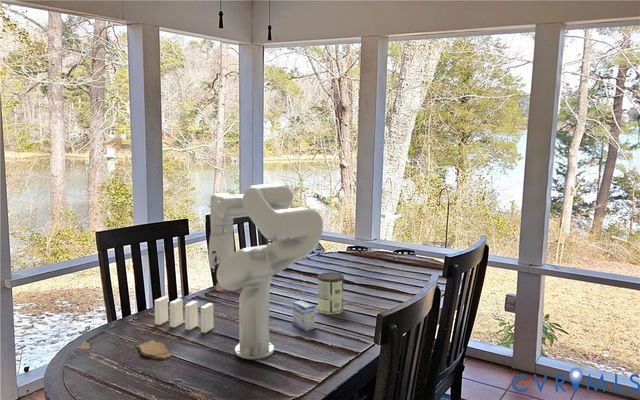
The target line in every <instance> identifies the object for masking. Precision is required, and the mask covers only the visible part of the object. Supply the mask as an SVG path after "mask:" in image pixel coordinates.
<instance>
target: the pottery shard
mask: <svg viewBox="0 0 640 400" xmlns="http://www.w3.org/2000/svg"><path fill="white" fill-rule="evenodd" d="M135 348H136V349H137V350H138V351H140V354H142V355H143V356H145V357H148V358H151V359H155V360H160V361H161V360H167V359H169V358H170V357H171V356H172V354H171V353H170V352H169V350H168V348H167V346H166V345H165V344H164V343H162V342H156V341H155V340H148V341H146V342H144V343H142V344H141V343H140V344H138V345H135Z"/></svg>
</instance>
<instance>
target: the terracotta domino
mask: <svg viewBox="0 0 640 400" xmlns="http://www.w3.org/2000/svg"><path fill="white" fill-rule="evenodd" d="M216 266H219V265H216ZM215 284H216V286H215V288H216V291H224V290H225V289H224V288H222V287H221V286H220V284H219V283H215Z"/></svg>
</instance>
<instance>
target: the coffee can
mask: <svg viewBox="0 0 640 400" xmlns="http://www.w3.org/2000/svg"><path fill="white" fill-rule="evenodd" d="M344 278H345V277H344V274H342V273H339V272H323V273H319V274H318V275H317V311H318V312H319V313H321V314H324V315H337V314H340V313H343V312H344Z"/></svg>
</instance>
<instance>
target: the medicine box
mask: <svg viewBox="0 0 640 400" xmlns="http://www.w3.org/2000/svg"><path fill="white" fill-rule="evenodd" d="M315 314H316V306H315V305H313V304H311V303H308V302H306V301H304V300H297V301H293V302H292V322H291V323H292V325H293V326H295V327H296V328H298V329H300V330H303V331H305V332H306V331H307V332H308V331H311V330H313V329H315V326H316V325H315V323H316V315H315Z"/></svg>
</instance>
